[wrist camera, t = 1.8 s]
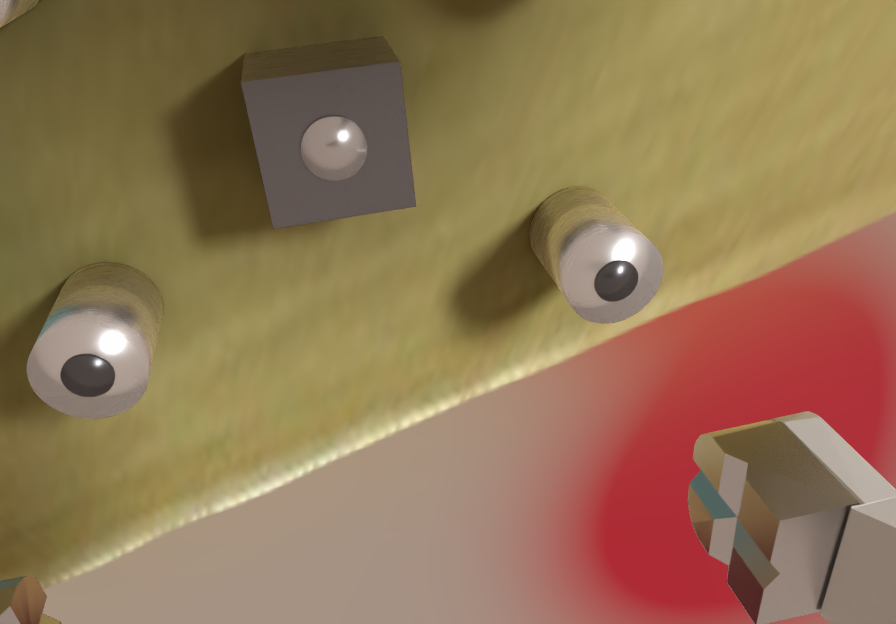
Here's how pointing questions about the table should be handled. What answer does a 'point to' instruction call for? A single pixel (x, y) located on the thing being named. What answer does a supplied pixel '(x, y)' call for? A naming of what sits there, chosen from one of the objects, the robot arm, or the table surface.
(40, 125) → the table surface
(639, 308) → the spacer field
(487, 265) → the table surface
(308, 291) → the table surface
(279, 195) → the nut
